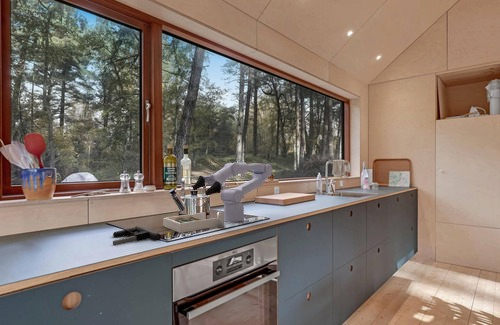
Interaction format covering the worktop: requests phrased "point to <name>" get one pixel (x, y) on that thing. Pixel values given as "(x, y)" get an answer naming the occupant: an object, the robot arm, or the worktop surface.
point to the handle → (220, 219)
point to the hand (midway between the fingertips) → (199, 191)
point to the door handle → (135, 235)
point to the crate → (186, 219)
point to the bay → (190, 223)
